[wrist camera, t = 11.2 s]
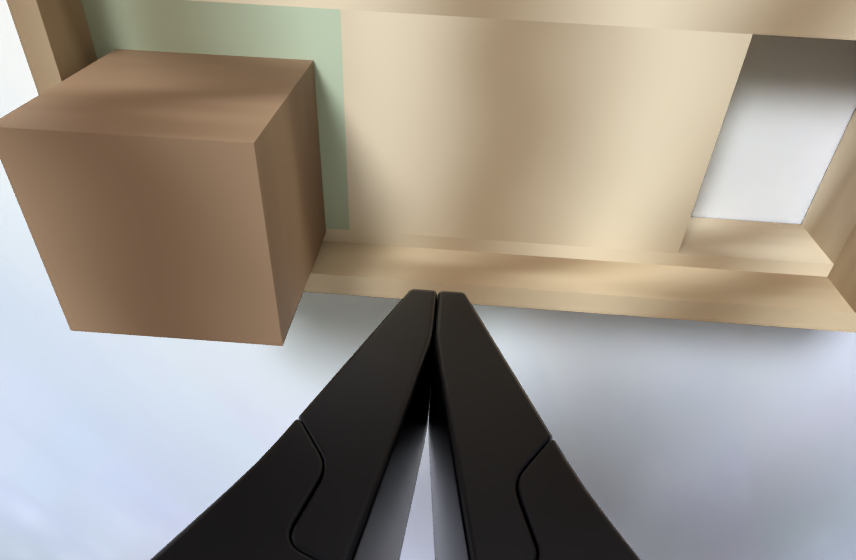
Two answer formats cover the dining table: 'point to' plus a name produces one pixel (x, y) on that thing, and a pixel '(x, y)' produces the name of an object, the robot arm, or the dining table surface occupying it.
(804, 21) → the trap box
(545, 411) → the dining table surface
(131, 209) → the block
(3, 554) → the dining table surface
